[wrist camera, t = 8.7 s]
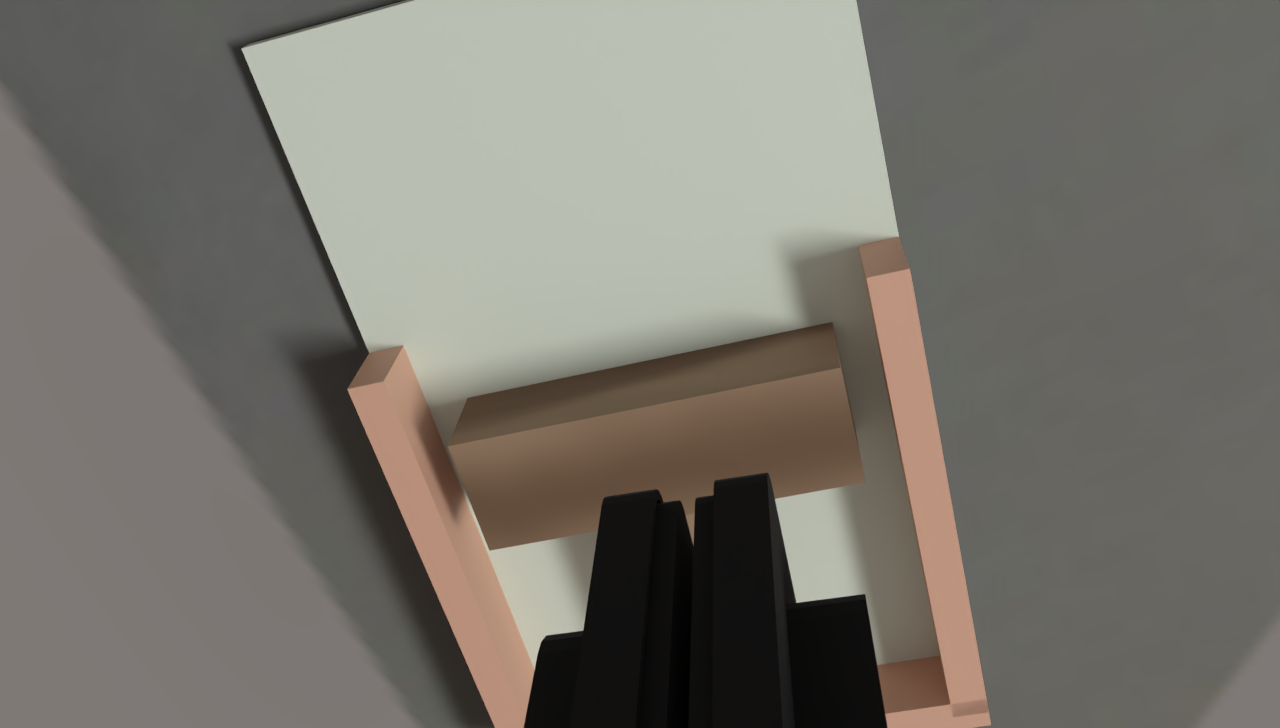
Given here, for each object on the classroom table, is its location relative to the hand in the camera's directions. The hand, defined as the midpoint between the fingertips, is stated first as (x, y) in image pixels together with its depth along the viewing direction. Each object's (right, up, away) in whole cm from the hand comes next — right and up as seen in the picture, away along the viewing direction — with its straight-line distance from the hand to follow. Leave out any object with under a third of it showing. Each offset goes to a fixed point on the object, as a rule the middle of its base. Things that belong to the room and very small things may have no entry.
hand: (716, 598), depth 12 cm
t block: (+1, -3, +27) cm, 28 cm away
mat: (0, +1, +26) cm, 26 cm away
